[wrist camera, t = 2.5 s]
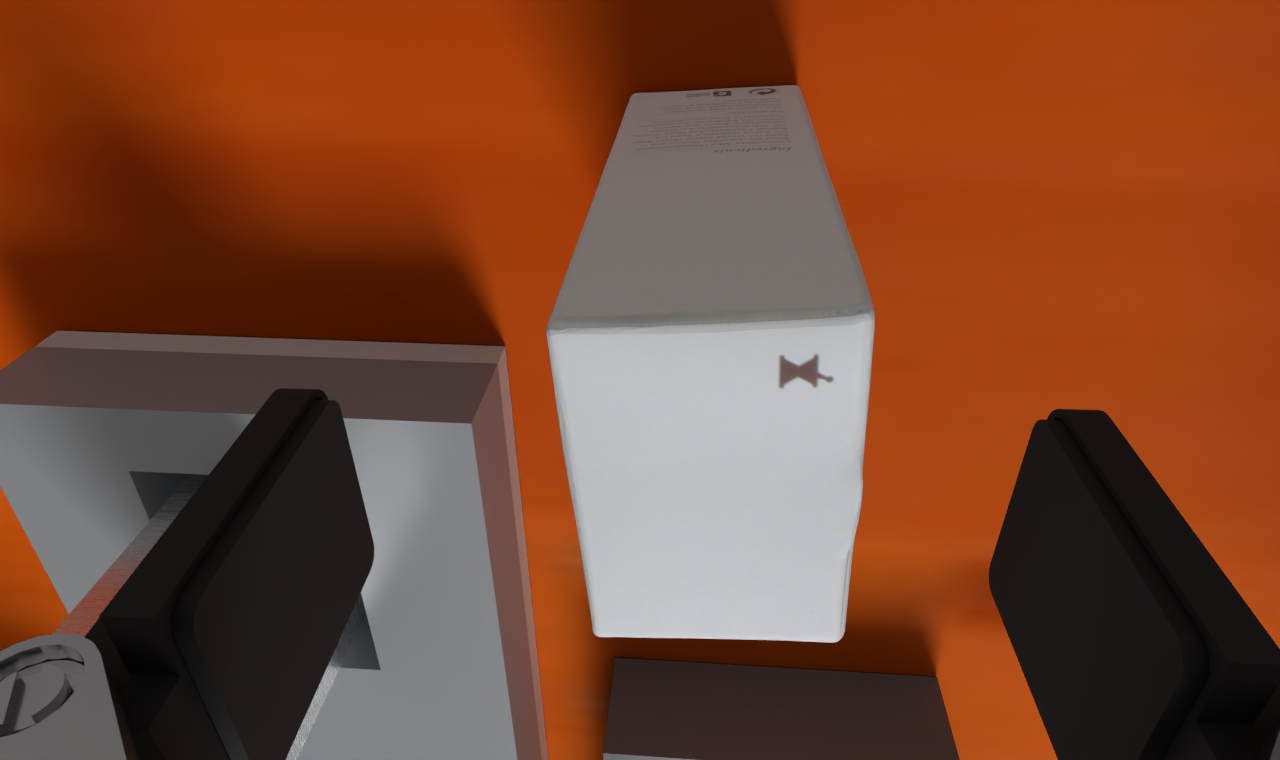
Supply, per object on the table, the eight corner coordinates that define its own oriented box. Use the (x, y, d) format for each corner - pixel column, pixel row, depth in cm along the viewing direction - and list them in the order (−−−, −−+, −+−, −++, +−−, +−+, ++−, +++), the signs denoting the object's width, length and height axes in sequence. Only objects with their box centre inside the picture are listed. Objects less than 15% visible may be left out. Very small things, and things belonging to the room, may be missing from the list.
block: (347, 441, 25) (104, 821, 15) (380, 580, 29) (197, 971, 19) (223, 435, 26) (-96, 805, 16) (269, 574, 29) (28, 956, 19)
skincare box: (625, 89, 20) (536, 312, 10) (800, 80, 20) (891, 303, 10) (642, 310, 23) (586, 647, 13) (794, 306, 23) (855, 651, 13)
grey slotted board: (505, 346, 24) (471, 423, 21) (557, 846, 39) (542, 939, 35) (57, 330, 25) (-45, 402, 22) (269, 824, 40) (228, 913, 36)
